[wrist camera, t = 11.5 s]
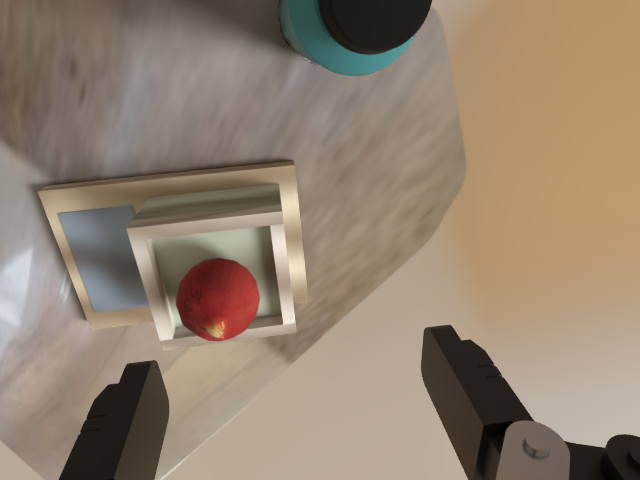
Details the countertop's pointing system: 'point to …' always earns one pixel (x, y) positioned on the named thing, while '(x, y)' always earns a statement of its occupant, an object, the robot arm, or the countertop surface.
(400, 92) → the countertop surface
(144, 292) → the tray with open box
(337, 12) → the beverage bottle
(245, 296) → the onion
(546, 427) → the robot arm
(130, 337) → the countertop surface
